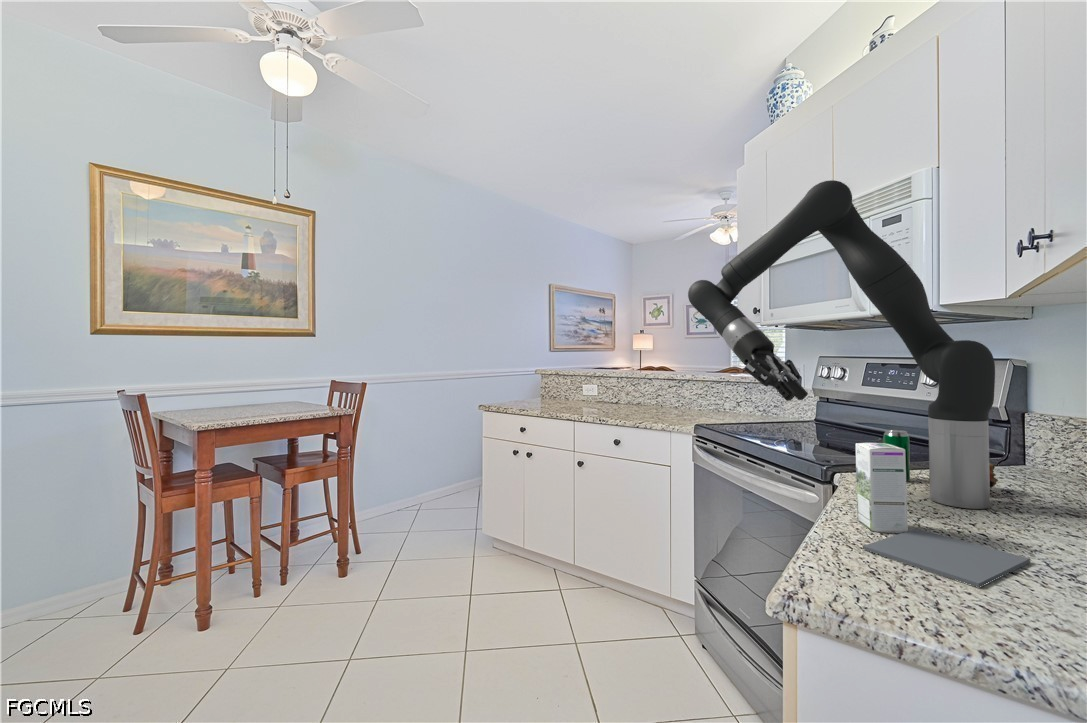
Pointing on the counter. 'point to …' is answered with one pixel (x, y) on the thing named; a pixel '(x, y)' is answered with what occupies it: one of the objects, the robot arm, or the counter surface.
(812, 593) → the counter surface
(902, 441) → the soda can
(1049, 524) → the counter surface
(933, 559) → the mat
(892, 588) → the counter surface
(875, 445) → the syrup box
